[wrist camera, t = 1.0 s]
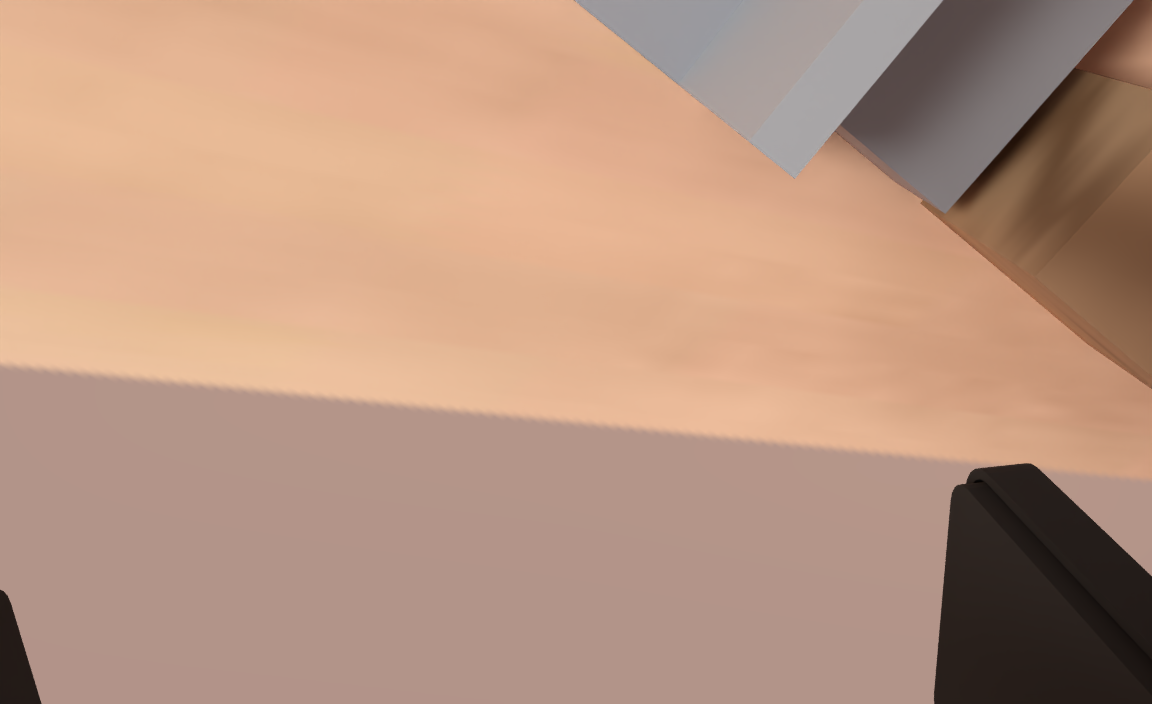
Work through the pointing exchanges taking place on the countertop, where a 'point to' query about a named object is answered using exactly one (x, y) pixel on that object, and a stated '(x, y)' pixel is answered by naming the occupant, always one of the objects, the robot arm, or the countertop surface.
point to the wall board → (869, 73)
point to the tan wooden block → (1075, 214)
